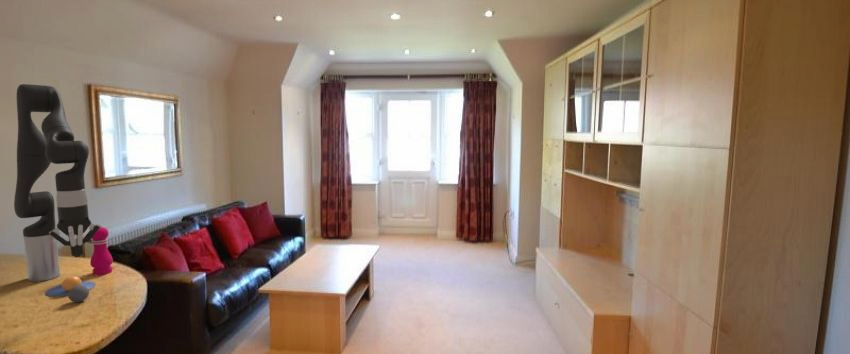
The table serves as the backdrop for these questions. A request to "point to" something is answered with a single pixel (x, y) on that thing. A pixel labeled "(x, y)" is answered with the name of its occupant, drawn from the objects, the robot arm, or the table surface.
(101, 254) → the pepper mill
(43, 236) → the robot arm
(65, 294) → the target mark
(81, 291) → the gray ball
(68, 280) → the object ball
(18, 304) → the table surface
